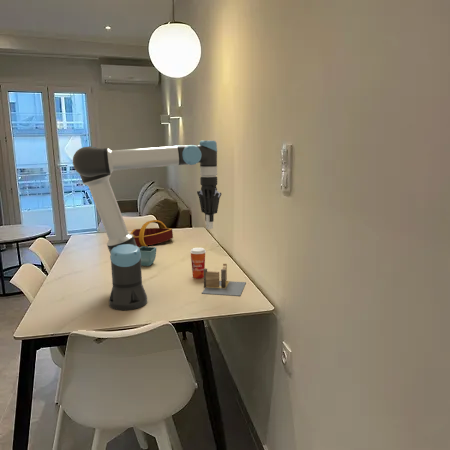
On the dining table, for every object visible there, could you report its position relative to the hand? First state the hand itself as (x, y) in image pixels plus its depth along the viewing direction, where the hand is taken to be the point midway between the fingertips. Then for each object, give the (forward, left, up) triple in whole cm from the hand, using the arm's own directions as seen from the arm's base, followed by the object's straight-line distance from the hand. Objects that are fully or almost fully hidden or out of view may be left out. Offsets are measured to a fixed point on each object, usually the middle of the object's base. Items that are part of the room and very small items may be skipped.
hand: (209, 228), depth 178 cm
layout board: (-4, -8, -26) cm, 28 cm away
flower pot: (+24, +41, -27) cm, 54 cm away
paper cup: (+9, +8, -27) cm, 29 cm away
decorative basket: (+76, +57, -27) cm, 98 cm away
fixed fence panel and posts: (-4, -3, -26) cm, 27 cm away
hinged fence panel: (+2, -6, -26) cm, 27 cm away
